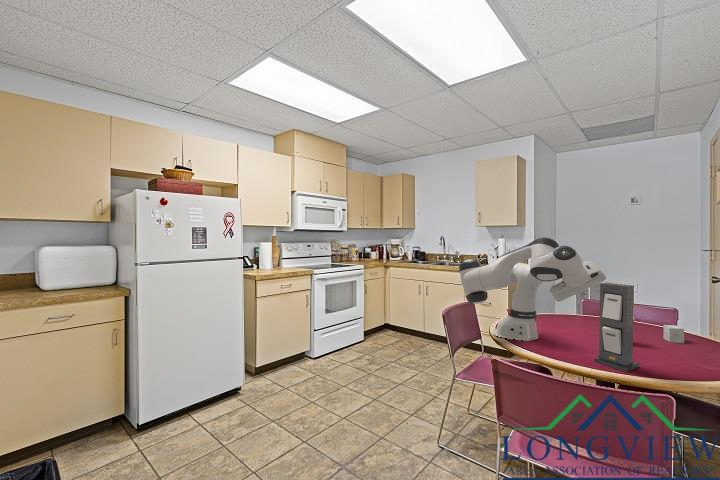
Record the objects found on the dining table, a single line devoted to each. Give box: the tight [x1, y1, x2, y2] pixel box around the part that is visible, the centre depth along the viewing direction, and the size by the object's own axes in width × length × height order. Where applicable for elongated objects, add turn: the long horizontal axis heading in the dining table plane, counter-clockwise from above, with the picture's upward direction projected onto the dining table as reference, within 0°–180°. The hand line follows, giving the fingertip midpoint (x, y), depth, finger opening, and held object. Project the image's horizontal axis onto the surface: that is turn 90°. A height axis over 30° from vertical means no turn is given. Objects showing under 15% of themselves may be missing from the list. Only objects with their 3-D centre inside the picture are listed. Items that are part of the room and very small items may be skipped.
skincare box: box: [663, 324, 685, 344], centre depth 171 cm, size 6×6×7 cm
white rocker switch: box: [602, 293, 623, 321], centre depth 140 cm, size 2×6×10 cm, turn 29°
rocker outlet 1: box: [602, 326, 622, 354], centre depth 141 cm, size 2×6×10 cm, turn 28°
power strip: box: [594, 281, 640, 373], centre depth 142 cm, size 10×12×34 cm
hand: (581, 294), depth 142 cm, fingers closed
